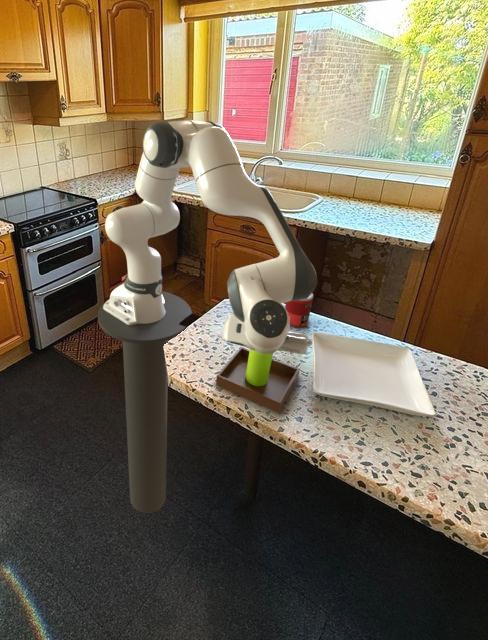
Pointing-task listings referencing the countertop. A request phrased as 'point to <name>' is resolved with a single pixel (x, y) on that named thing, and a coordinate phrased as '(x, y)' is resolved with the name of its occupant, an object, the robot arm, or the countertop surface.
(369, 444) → the countertop surface
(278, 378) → the tray
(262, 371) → the soap dispenser
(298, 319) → the canned food
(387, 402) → the square plate
